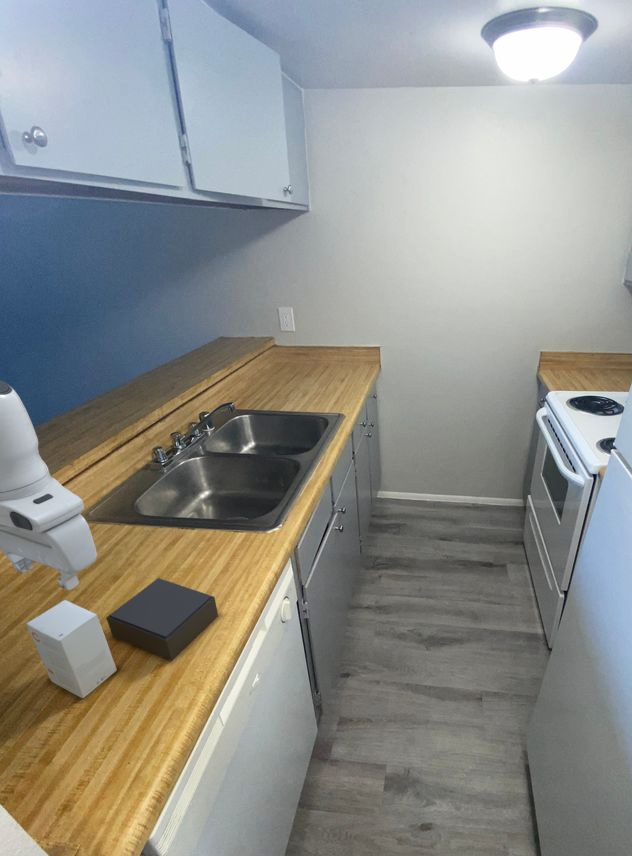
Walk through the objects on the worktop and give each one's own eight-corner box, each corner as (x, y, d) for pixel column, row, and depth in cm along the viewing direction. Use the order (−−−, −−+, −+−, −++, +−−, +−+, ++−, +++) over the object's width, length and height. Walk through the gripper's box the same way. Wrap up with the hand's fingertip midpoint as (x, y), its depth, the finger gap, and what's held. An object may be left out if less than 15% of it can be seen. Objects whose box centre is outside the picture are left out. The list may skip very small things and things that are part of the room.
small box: (118, 670, 81) (98, 613, 75) (82, 700, 76) (58, 641, 70) (86, 654, 84) (64, 598, 78) (49, 681, 79) (23, 623, 73)
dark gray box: (112, 637, 88) (105, 615, 85) (163, 596, 98) (158, 576, 95) (171, 661, 83) (165, 639, 81) (218, 616, 93) (214, 595, 91)
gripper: (-62, 491, 64) (-23, 572, 70) (44, 526, 58) (76, 611, 64) (-11, 472, 69) (21, 549, 75) (91, 502, 63) (116, 583, 69)
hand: (47, 577), depth 70 cm, fingers open, 8 cm apart
